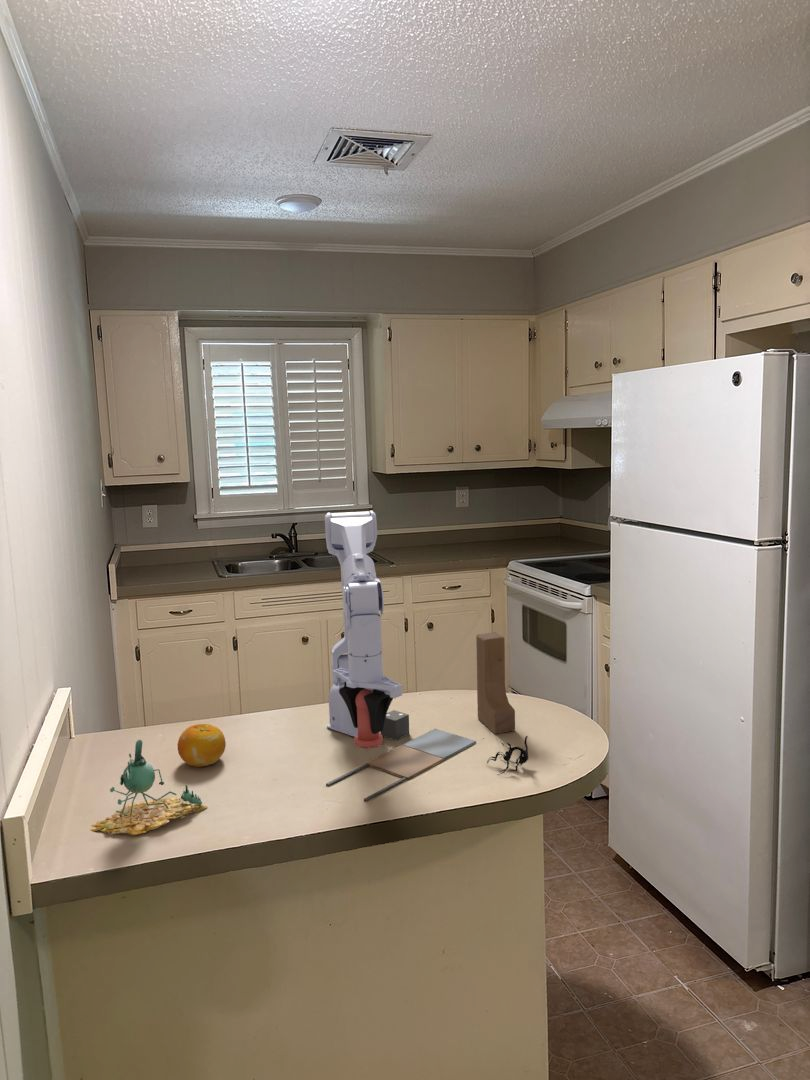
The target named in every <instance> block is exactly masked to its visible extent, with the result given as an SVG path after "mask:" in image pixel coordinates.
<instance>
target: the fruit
mask: <svg viewBox="0 0 810 1080" xmlns="http://www.w3.org/2000/svg"><path fill="white" fill-rule="evenodd" d="M226 745H227V742H226V738H225V735H224V732H223V731H222V730H221V729H220V728H218V727H217V726H215V725H212V724H209V723H199V724H193V725H190V726H189V727H187V728H185V730H184V731H182V733H181V734H180V736H179V737H178V742H177V752H178V755H179V757H180V759H181V760H182V761H183V762H184V763H185V764H186V765H188V766H190V767H196V768H200V767H207V766H210V765H214V763H216V762H218V761H219V760H220V758H221V757H222V756H223V754H224V753H225V750H226Z"/></svg>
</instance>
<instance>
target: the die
mask: <svg viewBox="0 0 810 1080" xmlns="http://www.w3.org/2000/svg"><path fill="white" fill-rule="evenodd" d="M380 734H382V736H383V737H385V738H388V739H391V740H393V741H397V740H399V739H402V738H404V737H406V736H408V735H410V715H409V714H408V713H404V712H403V711H402V712H401V711H399V710H395V709H393V710H391V711H389V712H388V711H387V714H386V718H385V722H384V727H383V731H381V732H380Z"/></svg>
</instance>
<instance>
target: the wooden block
mask: <svg viewBox="0 0 810 1080" xmlns="http://www.w3.org/2000/svg"><path fill="white" fill-rule="evenodd" d="M475 637H476V642H475V643H476V687H477V688H476V689H477V691H476V693H477V697H476V698H477V699H476V700H477V701H476V702H477V719H478V720H479V721H480V722H481V723H482V724H484V726H485V727H487V728H488V730H490V731H491V732H493V733H494V734H495V735H496V734H503V733H510V732H515V731H516V710H515V708H514V707H513V706H512V705H511V704H510V702H509V699H508V696H507V690H506V664H505V662H506V660H505V659H506V658H505V656H506V655H505V654H506V653H505V651H506V650H505V648H506V647H505V645H506V644H505V642H506V641H505V637H504V636H502V635H501V634H499V633H497V632H487V633H486V632H485V633H480V634H476V636H475Z"/></svg>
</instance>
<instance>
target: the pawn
mask: <svg viewBox="0 0 810 1080" xmlns="http://www.w3.org/2000/svg"><path fill="white" fill-rule="evenodd" d="M370 693H373V690H369V689H363V690H361V691H360V692H359V693H358V694H357V696H356V699H355V702H356V706H357V724H358V734H357V735H356V736H355V737H354V745H355V746H356V747H358V748H362V749H373V748H377V747H380V746H381V745H383V743H384V742H383V741H384V740H383V739H384V738H383V737H384V736H382V734H381V732H379V733H377V734H373V733H372V731H371V726H370V716H369V711H368V707H367V704H366V702H365V700H364V696H365V695H368V694H370Z"/></svg>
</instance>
